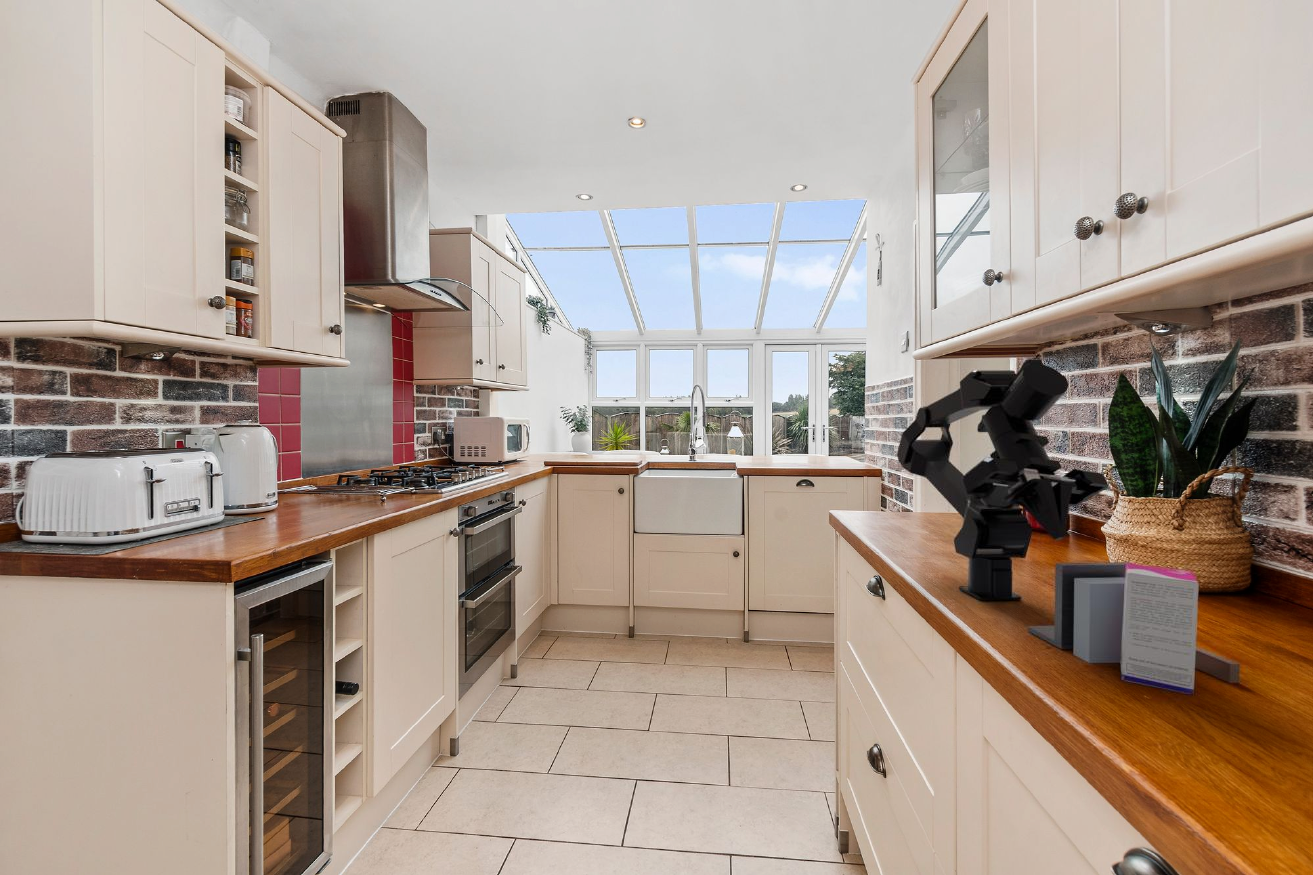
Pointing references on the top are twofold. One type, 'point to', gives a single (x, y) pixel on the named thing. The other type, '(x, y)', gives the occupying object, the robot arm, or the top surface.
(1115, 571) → the bookend
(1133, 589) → the supplement box
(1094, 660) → the book
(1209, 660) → the rail
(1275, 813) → the top surface
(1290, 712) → the top surface
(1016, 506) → the robot arm
